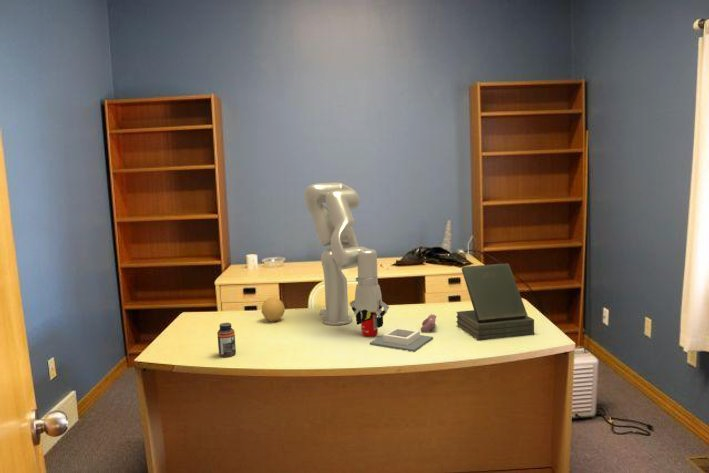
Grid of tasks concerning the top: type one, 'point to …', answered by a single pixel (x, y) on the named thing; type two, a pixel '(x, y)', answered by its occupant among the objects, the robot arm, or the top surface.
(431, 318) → the video game controller
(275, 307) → the stress ball
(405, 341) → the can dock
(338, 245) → the robot arm
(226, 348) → the supplement bottle
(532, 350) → the top surface
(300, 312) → the top surface
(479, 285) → the dark grey slab stack
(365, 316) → the beverage can
